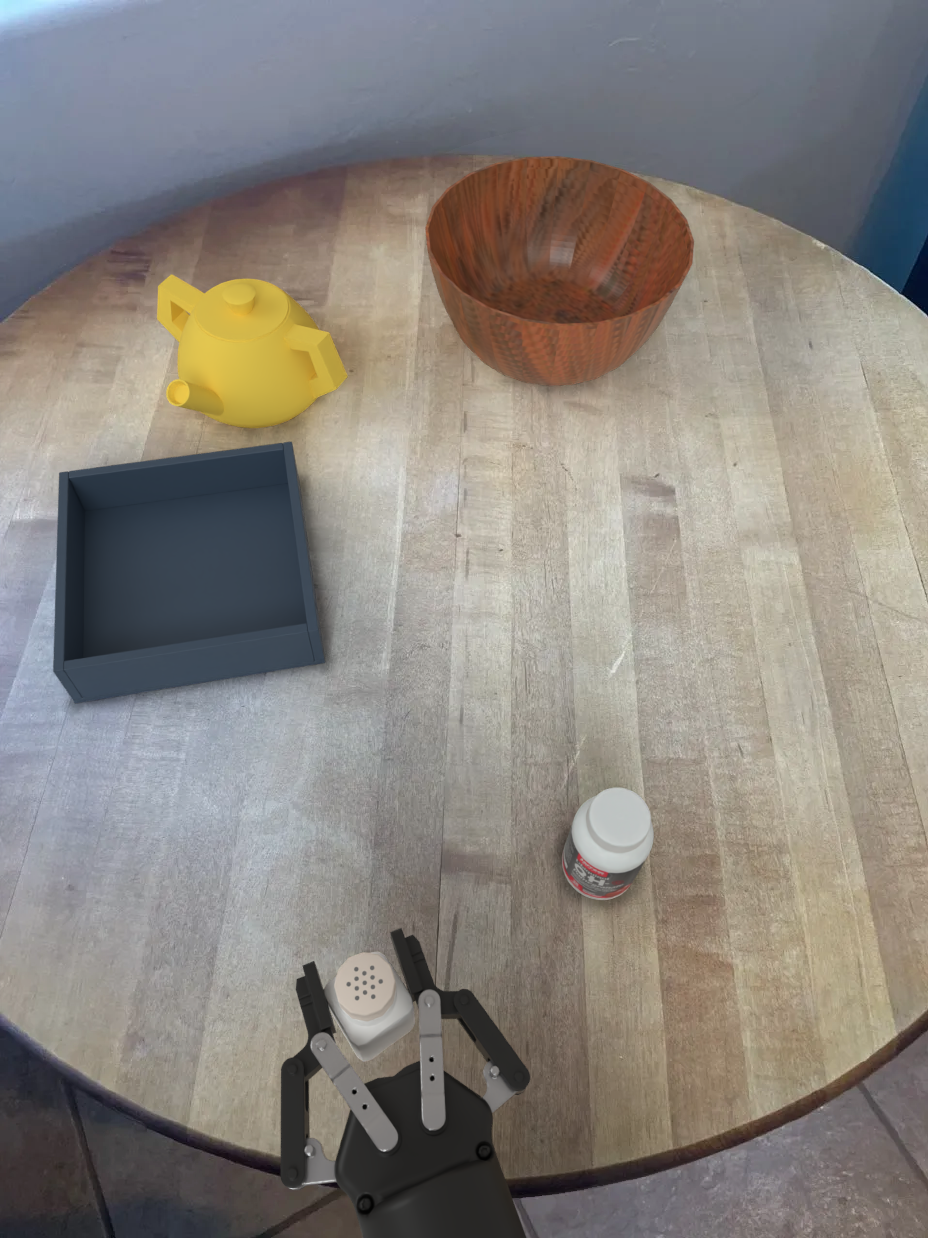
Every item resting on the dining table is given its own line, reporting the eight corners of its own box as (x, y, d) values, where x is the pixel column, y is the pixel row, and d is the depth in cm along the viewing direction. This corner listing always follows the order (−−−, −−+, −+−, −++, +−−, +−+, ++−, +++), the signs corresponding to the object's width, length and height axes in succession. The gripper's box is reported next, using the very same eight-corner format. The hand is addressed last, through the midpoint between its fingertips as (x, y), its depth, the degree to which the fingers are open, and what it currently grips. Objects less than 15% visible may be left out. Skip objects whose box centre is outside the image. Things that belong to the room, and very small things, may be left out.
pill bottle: (561, 900, 68) (578, 854, 59) (560, 827, 70) (576, 773, 62) (638, 904, 68) (665, 858, 59) (634, 830, 70) (659, 777, 62)
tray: (74, 703, 75) (52, 671, 71) (77, 510, 85) (58, 471, 81) (325, 663, 77) (318, 629, 73) (299, 479, 88) (291, 441, 83)
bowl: (376, 323, 99) (369, 225, 89) (547, 224, 108) (558, 126, 99) (547, 461, 89) (560, 368, 80) (719, 340, 99) (750, 243, 89)
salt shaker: (328, 1009, 59) (312, 973, 51) (383, 970, 60) (376, 929, 52) (363, 1067, 57) (352, 1040, 49) (419, 1026, 58) (417, 993, 50)
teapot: (104, 426, 91) (65, 334, 81) (212, 309, 100) (189, 214, 90) (287, 499, 86) (269, 411, 77) (383, 370, 95) (377, 278, 86)
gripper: (606, 1224, 45) (471, 885, 53) (309, 1366, 42) (216, 981, 50) (584, 1226, 51) (467, 922, 60) (325, 1349, 48) (240, 1010, 56)
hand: (353, 951), depth 55 cm, fingers closed on salt shaker, 4 cm apart
